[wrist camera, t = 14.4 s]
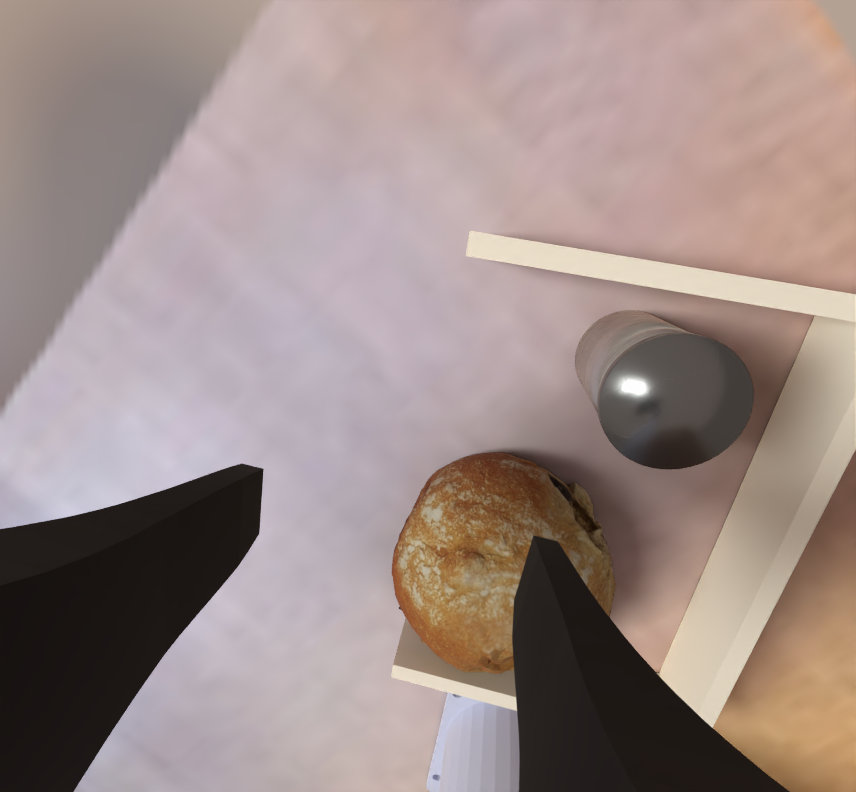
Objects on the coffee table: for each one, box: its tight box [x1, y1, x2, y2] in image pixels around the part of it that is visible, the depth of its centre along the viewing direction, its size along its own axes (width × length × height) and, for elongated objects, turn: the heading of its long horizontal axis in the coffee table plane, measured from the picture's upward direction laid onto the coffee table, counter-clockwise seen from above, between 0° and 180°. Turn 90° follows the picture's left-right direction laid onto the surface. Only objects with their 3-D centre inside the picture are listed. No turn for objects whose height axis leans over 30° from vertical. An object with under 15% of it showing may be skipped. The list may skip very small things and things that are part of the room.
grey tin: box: [575, 310, 754, 469], centre depth 16 cm, size 4×4×6 cm
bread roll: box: [392, 452, 616, 674], centre depth 21 cm, size 10×10×8 cm
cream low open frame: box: [391, 231, 856, 728], centre depth 20 cm, size 20×14×4 cm
